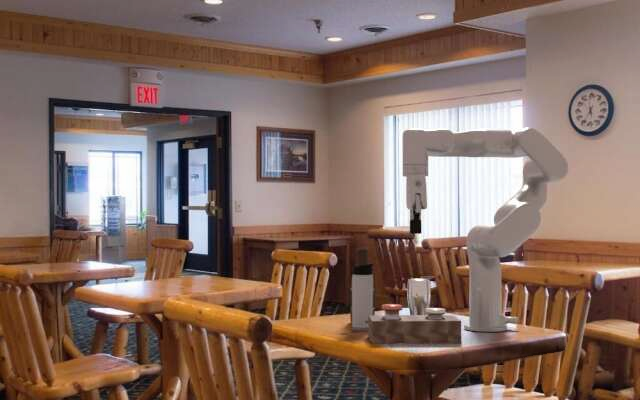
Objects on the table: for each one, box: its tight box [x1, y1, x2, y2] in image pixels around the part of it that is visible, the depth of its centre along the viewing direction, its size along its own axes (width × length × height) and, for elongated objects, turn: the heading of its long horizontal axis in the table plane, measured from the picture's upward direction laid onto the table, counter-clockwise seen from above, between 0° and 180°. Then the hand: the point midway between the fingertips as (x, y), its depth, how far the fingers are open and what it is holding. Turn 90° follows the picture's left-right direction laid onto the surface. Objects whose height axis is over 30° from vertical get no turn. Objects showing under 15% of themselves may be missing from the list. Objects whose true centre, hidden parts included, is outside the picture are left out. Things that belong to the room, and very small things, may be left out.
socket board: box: [367, 314, 462, 345], centre depth 210 cm, size 24×12×6 cm, turn 91°
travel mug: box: [351, 262, 375, 332], centre depth 228 cm, size 6×7×20 cm
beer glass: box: [406, 278, 431, 315], centre depth 229 cm, size 7×7×15 cm
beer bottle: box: [349, 247, 376, 324], centre depth 243 cm, size 8×8×24 cm
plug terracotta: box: [381, 303, 403, 319], centre depth 210 cm, size 6×6×8 cm
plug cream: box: [425, 307, 446, 319], centre depth 210 cm, size 6×6×8 cm
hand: (415, 233), depth 223 cm, fingers closed
